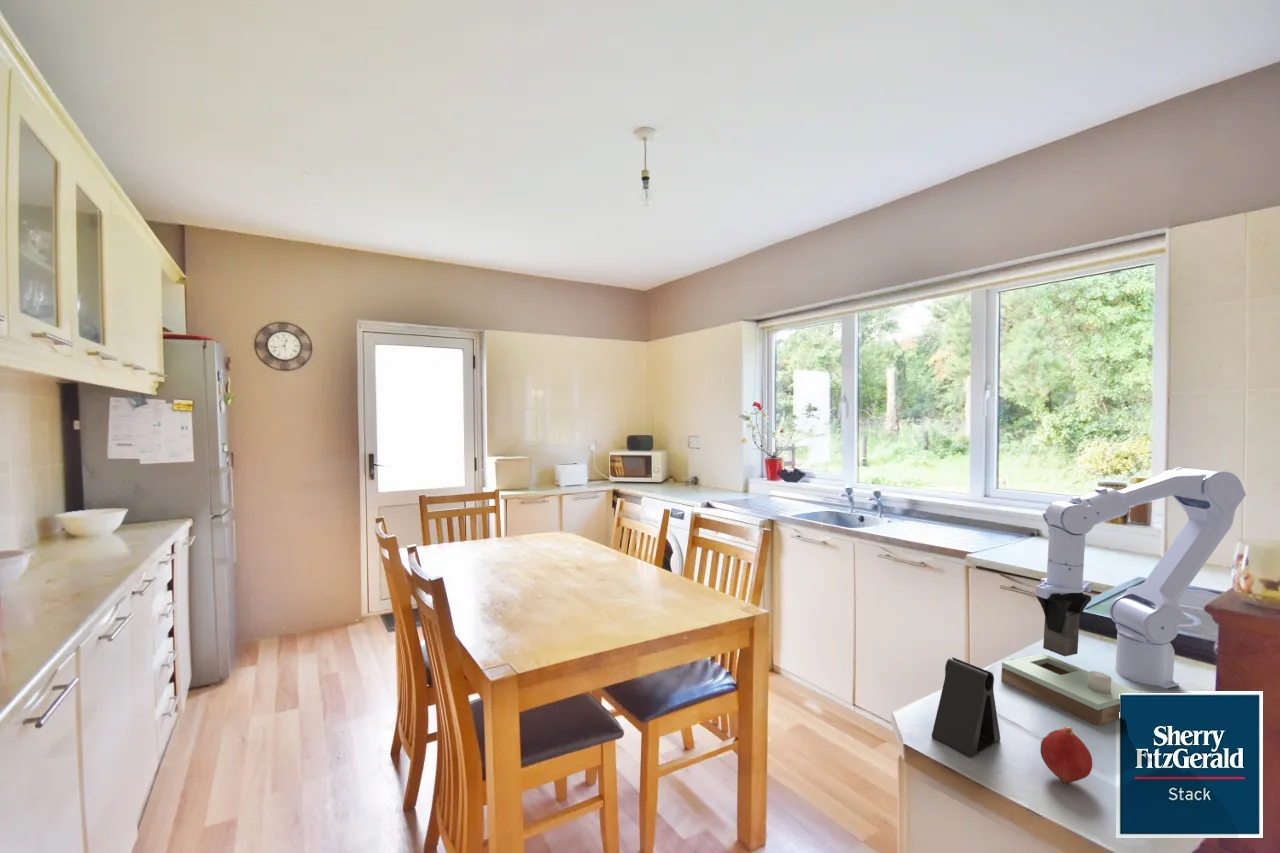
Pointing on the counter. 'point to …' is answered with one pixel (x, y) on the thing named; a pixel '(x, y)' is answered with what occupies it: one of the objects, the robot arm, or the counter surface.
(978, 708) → the phone stand
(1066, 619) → the block
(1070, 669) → the lid
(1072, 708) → the brown box
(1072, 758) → the onion
